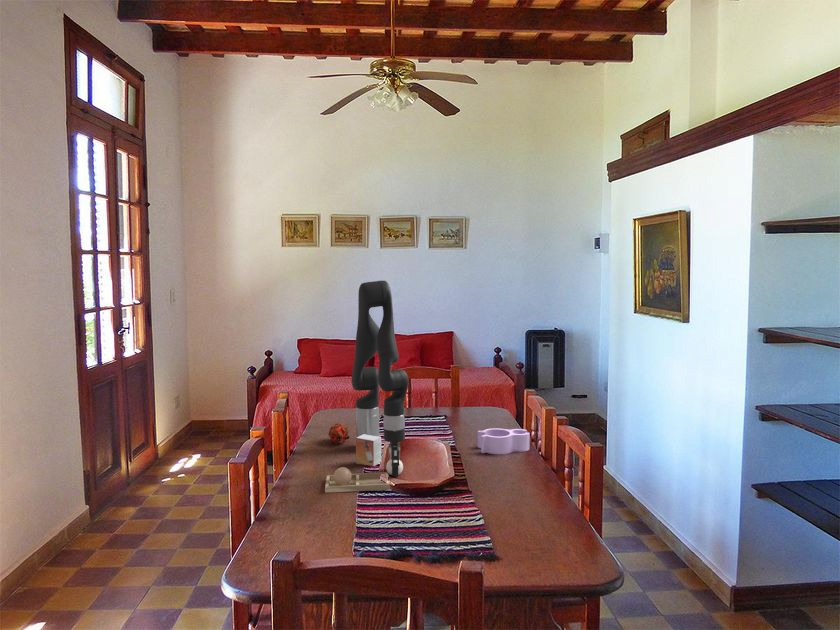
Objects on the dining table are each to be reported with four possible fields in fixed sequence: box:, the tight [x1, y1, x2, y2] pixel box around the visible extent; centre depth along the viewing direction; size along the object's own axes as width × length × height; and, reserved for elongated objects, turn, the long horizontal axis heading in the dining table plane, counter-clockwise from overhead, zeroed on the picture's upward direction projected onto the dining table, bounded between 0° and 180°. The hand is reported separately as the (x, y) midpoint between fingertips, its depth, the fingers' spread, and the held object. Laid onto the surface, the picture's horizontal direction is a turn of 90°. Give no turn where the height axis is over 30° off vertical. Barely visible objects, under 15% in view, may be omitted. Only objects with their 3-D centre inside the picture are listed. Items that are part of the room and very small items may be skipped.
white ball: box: [385, 458, 404, 476], centre depth 200 cm, size 6×6×6 cm
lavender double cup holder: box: [477, 427, 531, 455], centre depth 227 cm, size 20×12×7 cm, turn 97°
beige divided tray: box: [324, 471, 391, 494], centre depth 190 cm, size 11×21×2 cm, turn 96°
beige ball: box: [333, 466, 352, 486], centre depth 189 cm, size 6×6×6 cm
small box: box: [355, 434, 382, 467], centre depth 211 cm, size 8×6×10 cm
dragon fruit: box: [328, 422, 351, 445], centre depth 237 cm, size 8×8×12 cm
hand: (394, 472), depth 200 cm, fingers closed on white ball, 6 cm apart
